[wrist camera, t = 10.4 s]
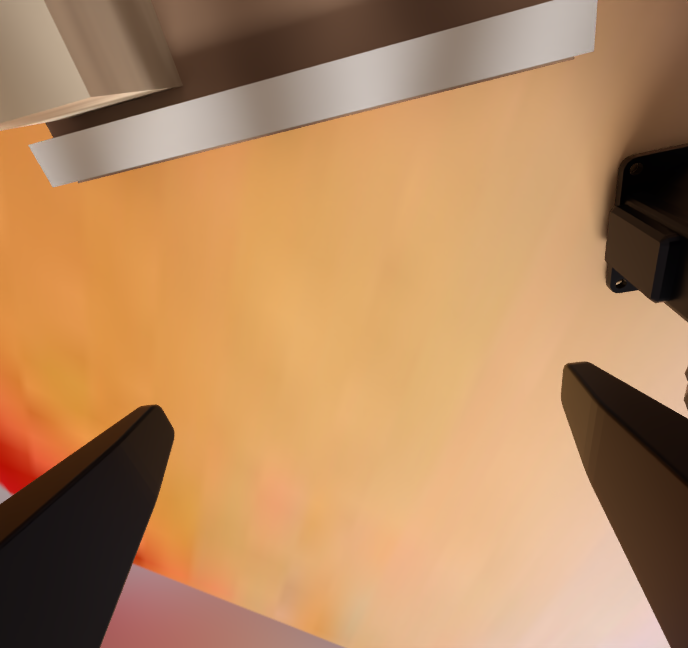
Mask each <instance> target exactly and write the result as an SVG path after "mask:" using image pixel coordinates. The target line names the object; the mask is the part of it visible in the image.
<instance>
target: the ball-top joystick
mask: <svg viewBox="0 0 688 648" xmlns="http://www.w3.org/2000/svg"><path fill="white" fill-rule="evenodd" d="M181 86H183V84H182V82H181V79H180V76H179V74H178V71H177V68H176V66H175V63H174V60H173V58H172V55H171V52H170V50H169V47H168V44H167V42H166V39H165V36H164V34H163V31H162V29H161V26H160V23H159V21H158V18H157V15H156V13H155V10H154V7H153V5H152V2H151V0H0V131H2V130H7V129H13V128H18V127H24V126H29V125H35V124H40V123H46V122H51V121H57V120H62V119H68V118H72V117H75V116H79V115H82V114H86V113H89V112H93V111H96V110H100V109H104V108H107V107H111V106H114V105H118V104H121V103H125V102H128V101H132V100H135V99H139V98H142V97H146V96H149V95H153V94H156V93H160V92H164V91H167V90H171V89H174V88H178V87H181Z"/></svg>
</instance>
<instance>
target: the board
mask: <svg viewBox="0 0 688 648" xmlns="http://www.w3.org/2000/svg"><path fill="white" fill-rule="evenodd" d="M597 1H598V0H151V2H152V5H153V7H154V10H155V13H156V15H157V18H158V21H159V23H160V26H161V29H162V31H163V34H164V36H165V39H166V42H167V44H168V47H169V50H170V52H171V55H172V58H173V60H174V63H175V66H176V68H177V71H178V74H179V76H180V79H181V82H182V84H183V86H181V87H178V88H174V89H171V90H167V91H164V92H160V93H156V94H153V95H149V96H146V97H142V98H139V99H135V100H132V101H128V102H125V103H121V104H118V105H114V106H111V107H107V108H104V109H100V110H96V111H93V112H89V113H86V114H82V115H79V116H75V117H72V118H68V119H62V120H57V121H51V122H46V125H47V127H48V128H49V130H50V132H51V134H52V136H53V138H52V139H49V140H45V141H41V142H38V143H34V144H30V145H28V146H29V147H30V149H31V151H32V152H33V154H34V156H35V158H36V159H37V161H38V163H39V164H40V166H41V168H42V169H43V171H44V173H45V175H46V176H47V178H48V180H49V181H50V183H51V185H52V187H56V186H60V185H64V184H68V183H72V182H76V181H78V183H81V182H85V181H89V180H93V179H97V178H101V177H105V176H109V175H113V174H117V173H121V172H125V171H129V170H133V169H137V168H141V167H145V166H149V165H153V164H157V163H161V162H165V161H169V160H173V159H177V158H181V157H185V156H189V155H193V154H197V153H201V152H205V151H209V150H213V149H217V148H221V147H225V146H229V145H233V144H237V143H241V142H245V141H249V140H253V139H257V138H261V137H265V136H269V135H273V134H277V133H281V132H285V131H289V130H293V129H297V128H301V127H305V126H309V125H313V124H316V123H320V122H324V121H328V120H332V119H336V118H340V117H344V116H348V115H352V114H356V113H360V112H364V111H368V110H372V109H376V108H380V107H384V106H388V105H392V104H396V103H400V102H404V101H408V100H412V99H416V98H420V97H424V96H428V95H432V94H436V93H440V92H444V91H448V90H452V89H456V88H460V87H464V86H468V85H472V84H476V83H480V82H484V81H488V80H492V79H496V78H500V77H504V76H508V75H512V74H516V73H520V72H524V71H528V70H532V69H536V68H540V67H544V66H548V65H552V64H556V63H560V62H564V61H568V60H572V59H574V56H577V55H581V54H585V53H589V52H593V51H594V43H595V29H596V15H597Z"/></svg>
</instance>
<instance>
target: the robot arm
mask: <svg viewBox="0 0 688 648" xmlns="http://www.w3.org/2000/svg"><path fill="white" fill-rule="evenodd" d="M635 163H638V167H637V169H636V170H635V171H634V172H632V173H630V168H631V167H632V166H633V164H635ZM605 261H606V262H607V263H608V270H607V279H606V285H607V286H608V288H609V289H610V290H611V291H612V292H615V293H622V292H629V291H635V290H639V291H641V292H642V293H643V294H644V295H645V296H646V297H647V298H649V299H650V300H651V301H653V302H654V303H660V302H664V303H665V304H666V305H668V306H669V307H670V308H671V309H672V310H674V311H675V312H676V313H677V314H678V315H680V316H681V317H682V318H683V319H684V320H686V321H687V322H688V144H683V145H678V146H674V147H669V148H664V149H659V150H654V151H650V152H645V153H640V154H635V155H632V156H629V157H627V158H626V159H625V160H623V162H622V163H621V164H620V167H619V172H618V181H617V190H616V199H615V206H614V207H613V209H612V210H611V211H610V214H609V224H608V233H607V242H606V252H605ZM621 279H623V280H622V282H621V283H620V284H618V285H615V284H616V282H617V281H619V280H621ZM685 375H686V378H687V380H688V367H687V369H686V371H685ZM561 401H562V405H563V408H564V411H565V414H566V417H567V420H568V423H569V426H570V428H571V431H572V434H573V437H574V440H575V443H576V446H577V449H578V451H579V454H580V457H581V460H582V463H583V466H584V468H585V471H586V474H587V476H588V478H589V480H590V483H591V485H592V487H593V489H594V491H595V493H596V495H597V497H598V499H599V501H600V503H601V505H602V508H603V510H604V512H605V514H606V516H607V518H608V520H609V522H610V524H611V526H612V528H613V530H614V532H615V534H616V536H617V538H618V540H619V542H620V544H621V546H622V549H623V551H624V553H625V555H626V557H627V559H628V561H629V563H630V565H631V567H632V569H633V571H634V573H635V575H636V577H637V579H638V581H639V583H640V585H641V588H642V590H643V592H644V594H645V596H646V598H647V600H648V602H649V604H650V606H651V608H652V610H653V612H654V614H655V616H656V618H657V620H658V622H659V624H660V626H661V629H662V631H663V633H664V635H665V637H666V639H667V641H668V643H669V645H670V647H671V648H688V419H687V418H686V417H684V416H682V415H680V414H679V413H677V412H675V411H673V410H672V409H670V408H668V407H666V406H665V405H663V404H661V403H659V402H658V401H656V400H654V399H652V398H651V397H649V396H647V395H645V394H644V393H642V392H640V391H639V390H637V389H635V388H633V387H632V386H630V385H628V384H626V383H625V382H623V381H621V380H619V379H618V378H616V377H614V376H612V375H611V374H609V373H607V372H605V371H604V370H602V369H600V368H598V367H597V366H595V365H593V364H592V363H589V362H575V363H567V364H566V365H565V366H564V369H563V378H562V388H561ZM684 402H685V404H686V407H687V409H688V385H687V388H686V393H685V397H684ZM173 441H174V429H173V427H172V425H171V423H170V422H169V420H168V418H167V416H166V415H165V413H164V411H163V409H162V408H161V407H160V406H159V405H146V406H141V407H139V408H137V409H136V410H134V411H133V412H131V413H130V414H129V415H127V416H126V417H124V418H123V419H121V420H120V421H119V422H117V423H116V424H114V425H113V426H111V427H110V428H109V429H107V430H106V431H104V432H103V433H101V434H100V435H99V436H97V437H96V438H94V439H93V440H91V441H90V442H89V443H87V444H86V445H84V446H83V447H81V448H80V449H79V450H77V451H76V452H74V453H73V454H71V455H70V456H68V457H67V458H66V459H64V460H63V461H61V462H60V463H58V464H57V465H56V466H54V467H53V468H51V469H50V470H48V471H47V472H46V473H44V474H43V475H41V476H40V477H38V478H37V479H36V480H34V481H33V482H31V483H30V484H28V485H27V486H26V487H24V488H23V489H21V490H20V491H18V492H17V493H16V494H14V495H13V496H11V497H10V498H8V499H7V500H6V501H4V502H3V503H1V504H0V648H100V647H101V644H102V641H103V639H104V636H105V634H106V631H107V628H108V626H109V623H110V620H111V618H112V615H113V613H114V610H115V608H116V605H117V602H118V600H119V597H120V595H121V592H122V589H123V587H124V584H125V582H126V579H127V576H128V574H129V571H130V569H131V566H132V563H133V561H134V558H135V556H136V553H137V551H138V548H139V545H140V543H141V540H142V538H143V535H144V532H145V530H146V527H147V525H148V522H149V519H150V517H151V514H152V512H153V509H154V506H155V503H156V501H157V498H158V494H159V491H160V488H161V484H162V481H163V477H164V473H165V470H166V466H167V463H168V459H169V455H170V452H171V448H172V445H173Z"/></svg>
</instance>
